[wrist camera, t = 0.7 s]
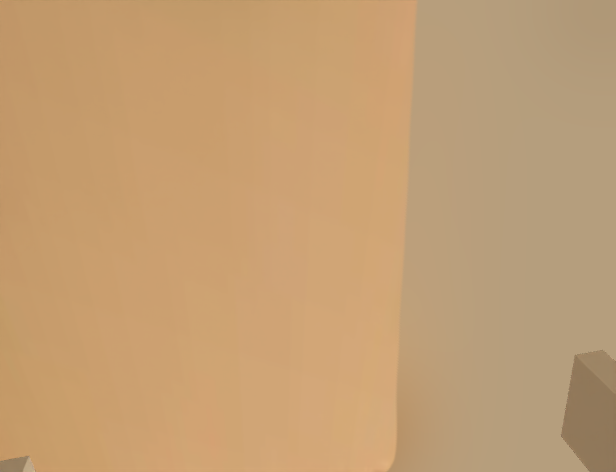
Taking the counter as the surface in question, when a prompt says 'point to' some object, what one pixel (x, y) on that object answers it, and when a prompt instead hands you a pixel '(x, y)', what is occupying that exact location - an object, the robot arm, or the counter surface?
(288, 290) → the counter surface
